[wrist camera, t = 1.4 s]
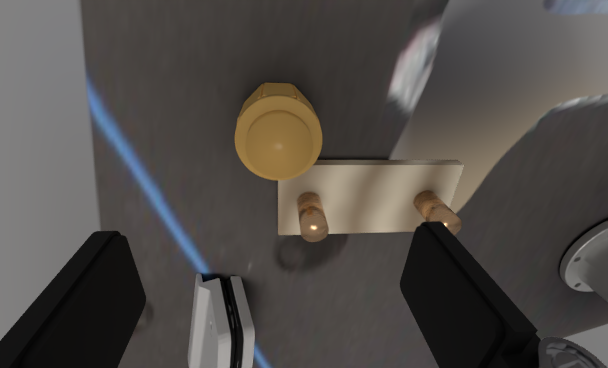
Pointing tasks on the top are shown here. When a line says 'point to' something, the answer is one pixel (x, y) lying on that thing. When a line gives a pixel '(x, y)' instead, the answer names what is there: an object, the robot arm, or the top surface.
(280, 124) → the cap
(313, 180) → the plate
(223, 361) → the hinge
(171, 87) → the top surface
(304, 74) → the top surface
